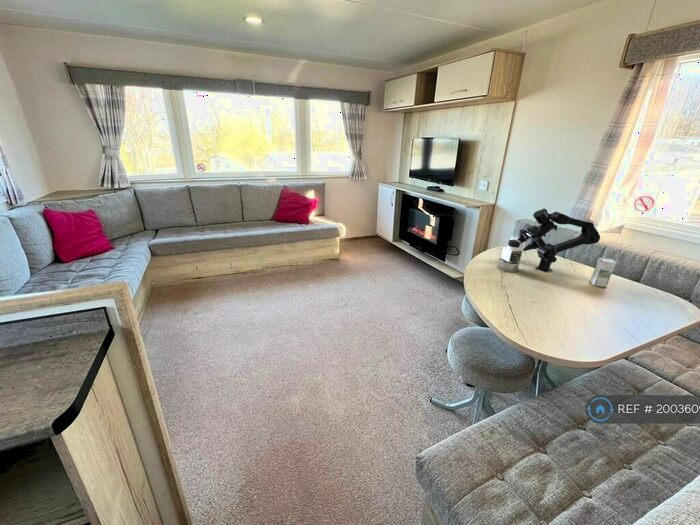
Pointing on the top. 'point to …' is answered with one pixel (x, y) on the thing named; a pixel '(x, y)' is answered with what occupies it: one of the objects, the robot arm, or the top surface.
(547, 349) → the top surface
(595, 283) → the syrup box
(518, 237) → the cup
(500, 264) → the grey bowl
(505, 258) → the medicine bottle
